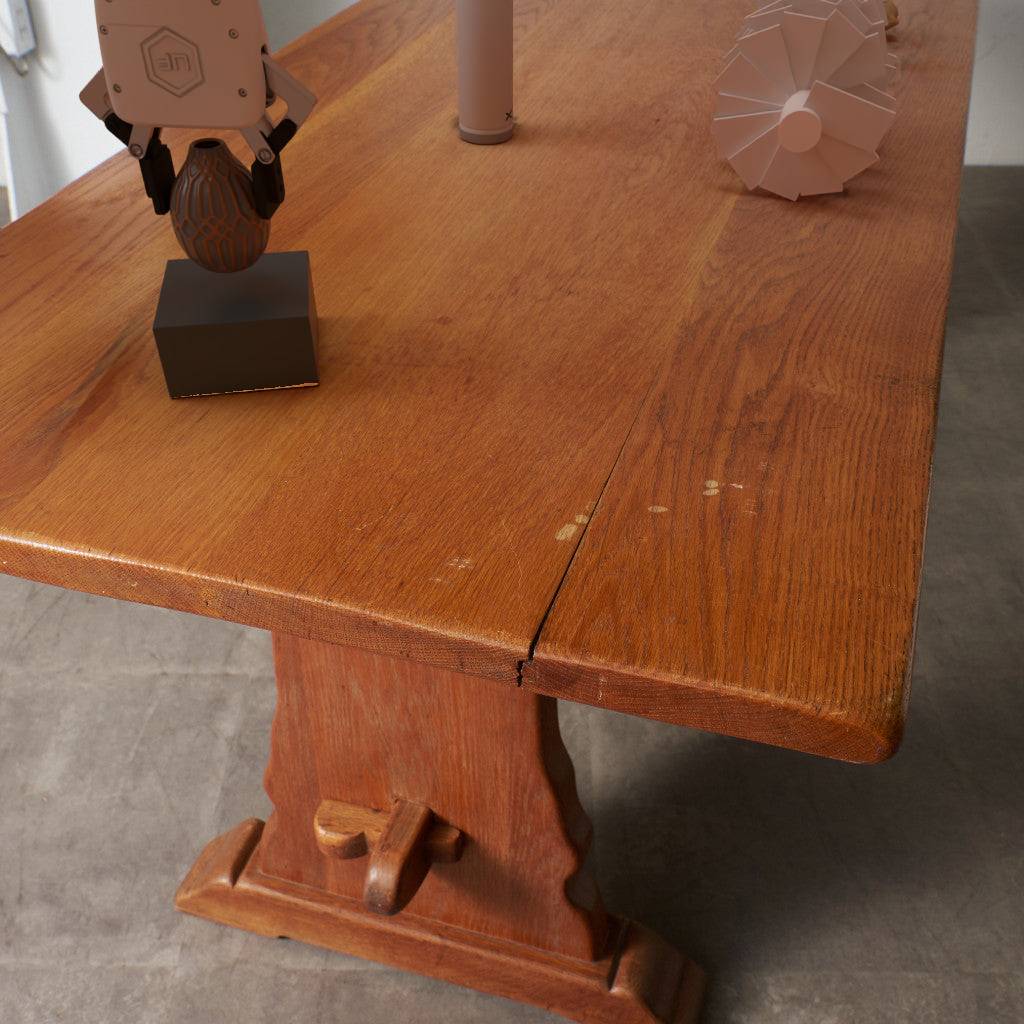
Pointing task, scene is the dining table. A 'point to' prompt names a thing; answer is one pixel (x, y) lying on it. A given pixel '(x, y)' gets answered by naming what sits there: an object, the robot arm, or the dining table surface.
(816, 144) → the spiral staircase
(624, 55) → the dining table surface
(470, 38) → the travel mug
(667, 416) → the dining table surface
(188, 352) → the riser block
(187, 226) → the vase
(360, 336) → the dining table surface
